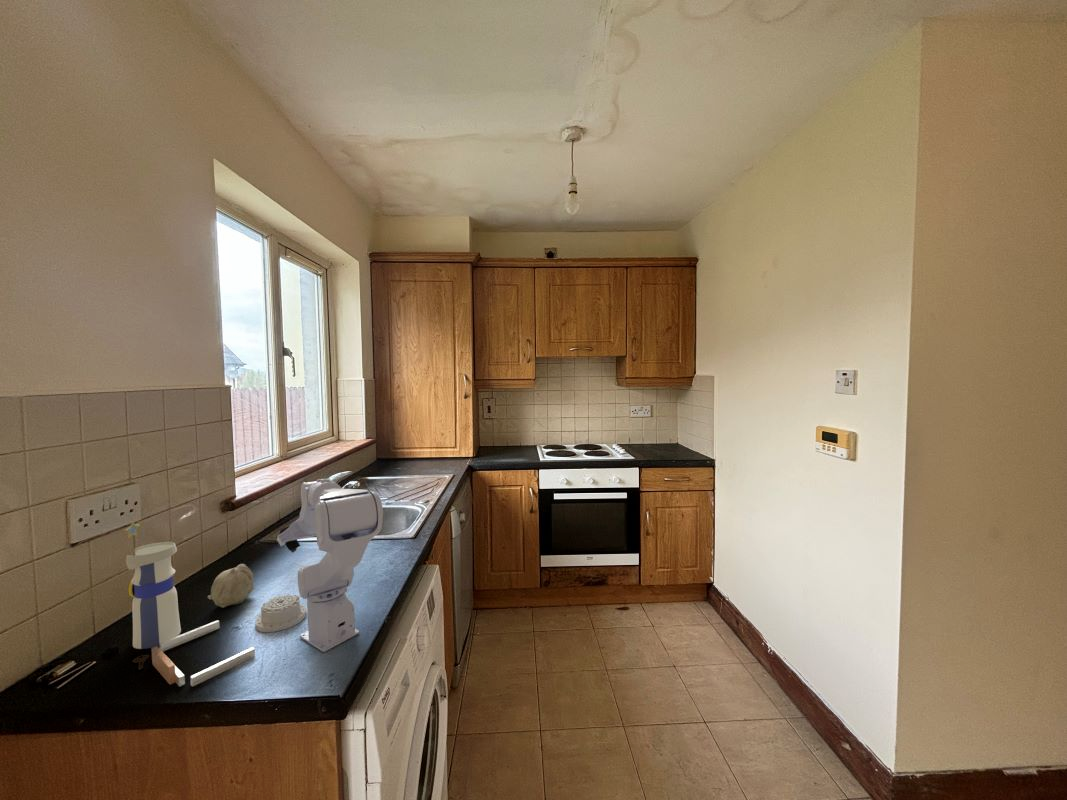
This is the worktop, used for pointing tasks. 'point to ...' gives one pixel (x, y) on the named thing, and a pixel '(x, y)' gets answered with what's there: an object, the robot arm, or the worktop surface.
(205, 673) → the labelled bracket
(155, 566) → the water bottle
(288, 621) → the mechanical component
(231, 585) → the garlic bulb
